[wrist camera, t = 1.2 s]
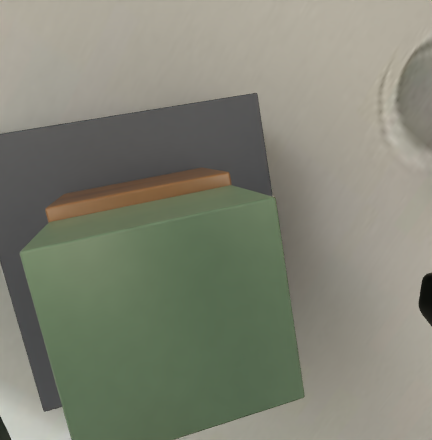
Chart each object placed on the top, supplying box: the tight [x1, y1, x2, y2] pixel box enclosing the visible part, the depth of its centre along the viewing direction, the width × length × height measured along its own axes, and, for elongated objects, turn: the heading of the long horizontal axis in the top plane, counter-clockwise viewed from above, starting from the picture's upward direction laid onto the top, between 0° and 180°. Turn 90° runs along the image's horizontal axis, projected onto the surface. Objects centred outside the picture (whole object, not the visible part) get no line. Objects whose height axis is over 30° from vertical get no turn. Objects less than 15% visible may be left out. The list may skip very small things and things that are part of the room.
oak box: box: [45, 167, 232, 223], centre depth 16 cm, size 6×6×4 cm
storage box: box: [0, 93, 273, 412], centre depth 20 cm, size 12×12×4 cm
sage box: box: [20, 185, 304, 440], centre depth 12 cm, size 6×6×4 cm
